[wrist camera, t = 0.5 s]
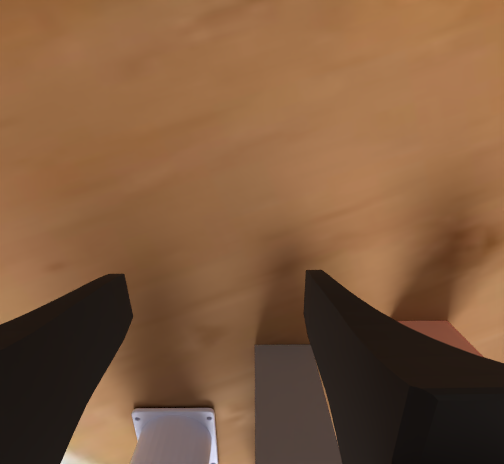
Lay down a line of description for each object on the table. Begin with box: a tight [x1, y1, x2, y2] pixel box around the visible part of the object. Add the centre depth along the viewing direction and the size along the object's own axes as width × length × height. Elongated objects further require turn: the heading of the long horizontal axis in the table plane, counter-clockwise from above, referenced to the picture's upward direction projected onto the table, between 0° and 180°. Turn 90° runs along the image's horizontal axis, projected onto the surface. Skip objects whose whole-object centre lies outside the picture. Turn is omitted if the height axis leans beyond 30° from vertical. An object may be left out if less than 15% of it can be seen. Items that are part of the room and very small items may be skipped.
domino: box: [255, 344, 342, 464], centre depth 21 cm, size 2×5×10 cm, turn 91°
